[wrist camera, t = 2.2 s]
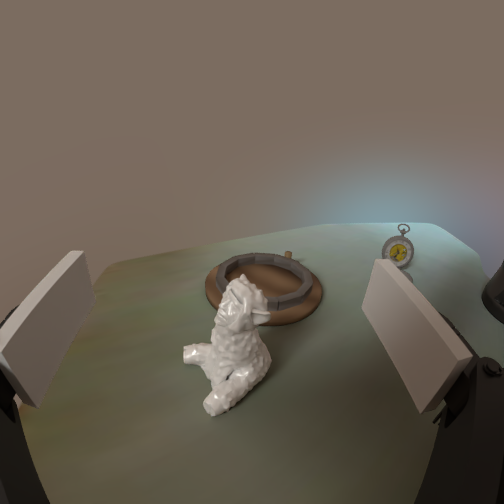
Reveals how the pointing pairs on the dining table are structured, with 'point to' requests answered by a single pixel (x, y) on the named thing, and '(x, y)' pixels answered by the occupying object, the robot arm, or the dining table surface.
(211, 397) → the seated beast figurine
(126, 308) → the dining table surface
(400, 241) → the pocket watch
